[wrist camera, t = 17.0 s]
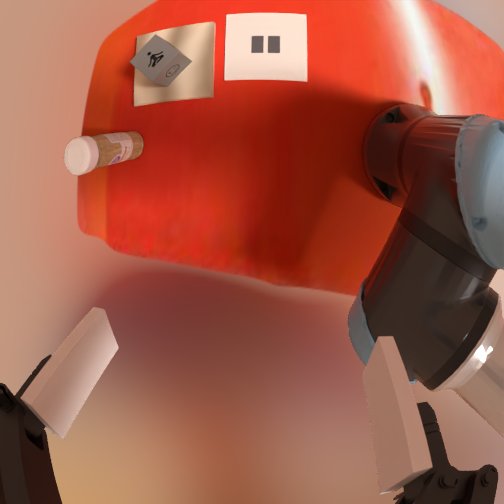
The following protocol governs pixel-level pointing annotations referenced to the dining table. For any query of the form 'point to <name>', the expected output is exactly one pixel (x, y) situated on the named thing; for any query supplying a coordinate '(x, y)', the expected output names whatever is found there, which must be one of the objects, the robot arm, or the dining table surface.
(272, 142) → the dining table surface
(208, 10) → the dining table surface
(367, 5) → the dining table surface
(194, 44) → the birch coaster
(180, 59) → the dice cube
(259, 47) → the white tile
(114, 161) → the sprinkles bottle
